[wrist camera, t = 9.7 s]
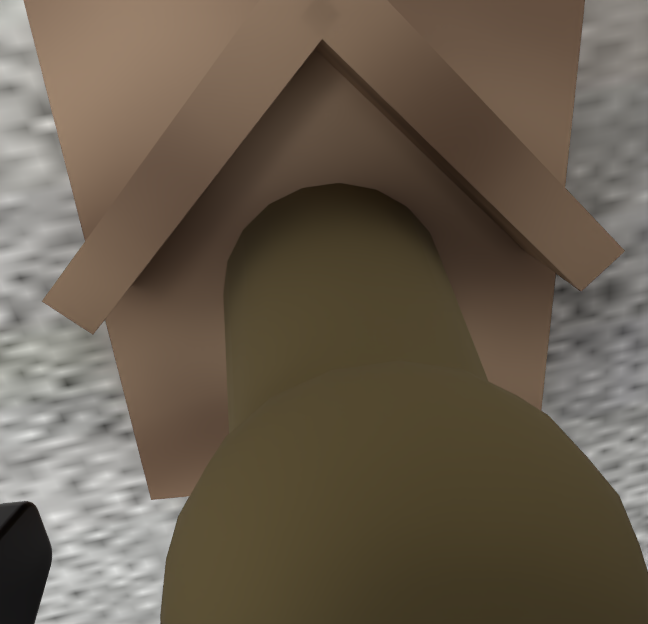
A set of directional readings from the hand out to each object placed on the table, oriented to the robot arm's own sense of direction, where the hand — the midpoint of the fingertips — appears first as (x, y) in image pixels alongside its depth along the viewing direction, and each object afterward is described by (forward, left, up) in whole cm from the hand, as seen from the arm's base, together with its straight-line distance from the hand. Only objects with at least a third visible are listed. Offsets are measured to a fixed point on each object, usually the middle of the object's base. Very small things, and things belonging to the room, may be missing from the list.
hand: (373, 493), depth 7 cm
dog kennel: (0, 0, -9) cm, 9 cm away
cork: (0, 0, -8) cm, 8 cm away
